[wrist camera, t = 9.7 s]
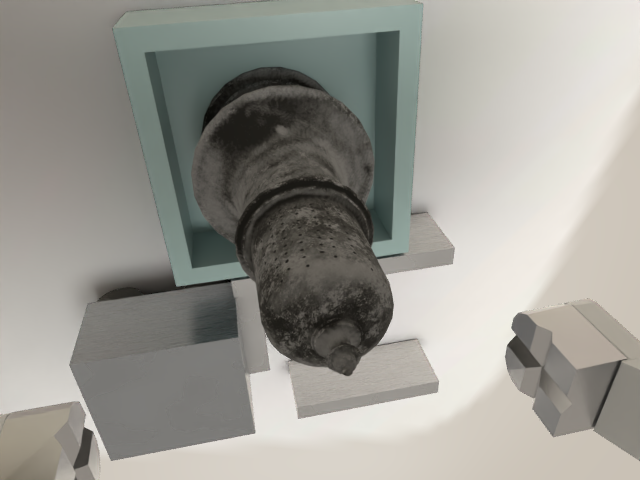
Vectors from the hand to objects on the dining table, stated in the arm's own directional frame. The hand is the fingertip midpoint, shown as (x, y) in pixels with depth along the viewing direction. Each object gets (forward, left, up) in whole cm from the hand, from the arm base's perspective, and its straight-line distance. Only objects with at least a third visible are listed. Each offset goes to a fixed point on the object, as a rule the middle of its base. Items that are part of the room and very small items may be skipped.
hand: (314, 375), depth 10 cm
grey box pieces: (0, -9, -12) cm, 15 cm away
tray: (+1, 0, -12) cm, 12 cm away
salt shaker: (+1, 0, -12) cm, 12 cm away
